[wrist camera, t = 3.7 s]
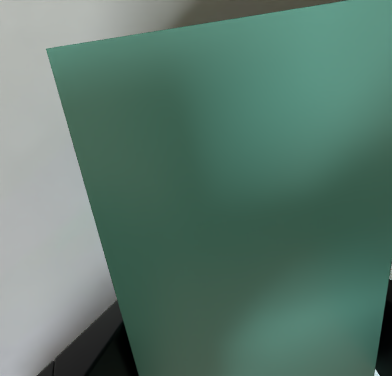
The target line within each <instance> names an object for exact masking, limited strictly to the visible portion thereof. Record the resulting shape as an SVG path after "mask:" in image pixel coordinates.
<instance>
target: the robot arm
mask: <svg viewBox="0 0 392 376" xmlns="http://www.w3.org/2000/svg"><path fill="white" fill-rule="evenodd" d="M375 369H376V371H377V372H378V374H379V375H380V376H392V280H390V279H389V282H388V288H387V295H386V301H385V308H384V314H383V321H382V327H381V334H380V340H379V346H378V353H377V359H376V366H375ZM37 376H139V374H138V371H137V367H136V364H135V360H134V357H133V353H132V349H131V346H130V342H129V339H128V335H127V332H126V328H125V325H124V321H123V318H122V314H121V311H120V307H119V304H118V300H117V301H116V302H115V303H114V304H112V305H111V306H110V307H109V308H108V309H107V310H106V311H105V312H104V313H103V314H102V315H101V316H100V317H99V318H98V319H97V320H95V321H94V322H93V323H92V324H91V325H90V326H89V327H88V328H87V329H86V330H85V331H84V332H83V333H82V334H81V335H80V336H78V337H77V338H76V339H75V340H74V341H73V342H72V343H71V344H70V345H69V346H68V347H67V348H66V349H65V350H64V351H63V352H61V353H60V354H59V355H58V356H57V357H56V358H55V361H52V362H51V363H50V364H49V365H48V366H47V367H45V368H44V369H43V370H42V371H41V372H40V373H39V374H38V375H37Z"/></svg>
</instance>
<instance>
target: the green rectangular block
mask: <svg viewBox="0 0 392 376" xmlns="http://www.w3.org/2000/svg"><path fill="white" fill-rule="evenodd" d="M46 50H47V54H48V57H49V61H50V64H51V68H52V71H53V75H54V78H55V82H56V85H57V89H58V93H59V96H60V100H61V103H62V107H63V110H64V114H65V117H66V121H67V124H68V128H69V131H70V135H71V138H72V142H73V145H74V149H75V152H76V156H77V159H78V163H79V166H80V170H81V173H82V177H83V181H84V184H85V188H86V191H87V195H88V198H89V202H90V205H91V209H92V212H93V216H94V219H95V223H96V226H97V230H98V233H99V237H100V240H101V244H102V247H103V251H104V254H105V258H106V261H107V265H108V269H109V272H110V276H111V279H112V283H113V286H114V290H115V293H116V297H117V300H118V304H119V307H120V311H121V314H122V318H123V321H124V325H125V328H126V332H127V335H128V339H129V342H130V346H131V349H132V353H133V357H134V360H135V364H136V367H137V371H138V374H139V376H374V372H375V366H376V359H377V353H378V346H379V340H380V334H381V327H382V321H383V314H384V308H385V301H386V295H387V288H388V282H389V275H390V269H391V262H392V0H347V1H341V2H335V3H329V4H322V5H316V6H310V7H304V8H297V9H291V10H285V11H279V12H273V13H266V14H260V15H254V16H248V17H241V18H235V19H229V20H223V21H216V22H210V23H204V24H198V25H191V26H185V27H179V28H173V29H166V30H160V31H154V32H148V33H142V34H135V35H129V36H123V37H117V38H110V39H104V40H98V41H92V42H85V43H79V44H73V45H67V46H60V47H54V48H48V49H46Z"/></svg>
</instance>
